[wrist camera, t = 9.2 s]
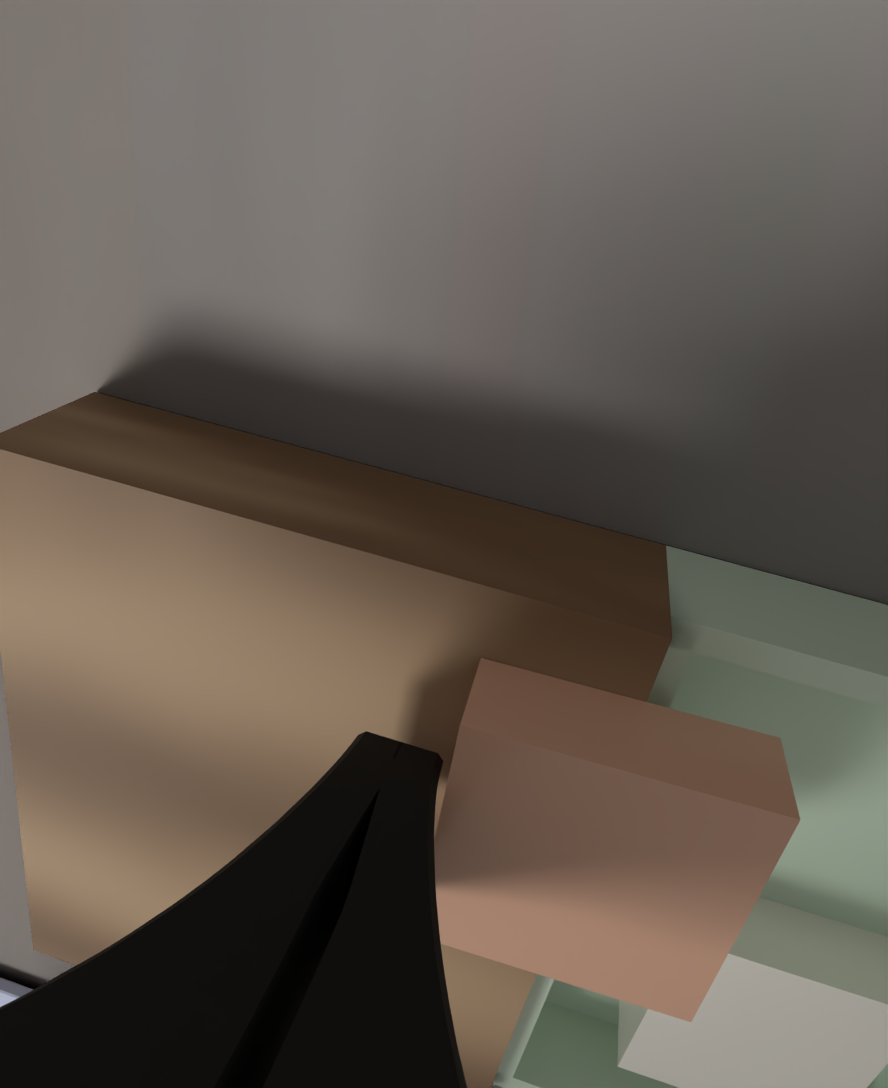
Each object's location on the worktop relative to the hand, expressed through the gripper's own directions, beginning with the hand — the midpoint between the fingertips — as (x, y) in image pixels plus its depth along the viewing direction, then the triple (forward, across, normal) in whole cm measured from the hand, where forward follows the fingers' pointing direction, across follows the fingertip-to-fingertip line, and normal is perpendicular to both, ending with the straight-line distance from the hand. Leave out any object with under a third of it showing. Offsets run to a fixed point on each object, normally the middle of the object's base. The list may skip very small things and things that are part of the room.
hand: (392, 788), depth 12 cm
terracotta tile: (+1, -3, 0) cm, 3 cm away
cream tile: (+2, -8, +6) cm, 10 cm away
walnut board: (+4, +2, +3) cm, 5 cm away
